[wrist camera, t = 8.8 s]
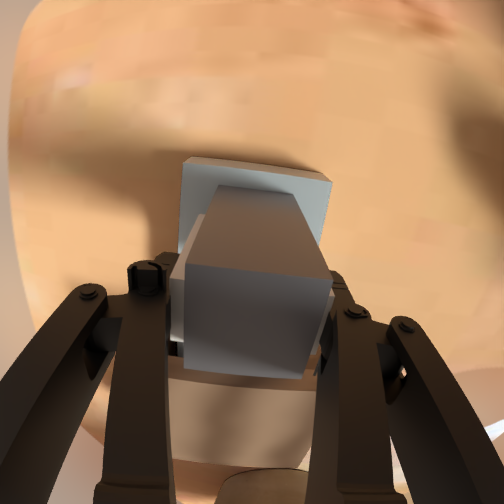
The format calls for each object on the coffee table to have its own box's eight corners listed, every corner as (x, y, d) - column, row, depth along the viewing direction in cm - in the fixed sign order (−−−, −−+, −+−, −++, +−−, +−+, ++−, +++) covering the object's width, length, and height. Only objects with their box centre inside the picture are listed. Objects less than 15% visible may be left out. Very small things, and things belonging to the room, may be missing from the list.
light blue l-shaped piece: (322, 173, 18) (406, 255, 8) (266, 406, 28) (270, 512, 17) (191, 156, 18) (113, 219, 8) (184, 397, 27) (165, 503, 17)
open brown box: (325, 334, 24) (340, 391, 18) (292, 419, 29) (297, 467, 23) (146, 314, 23) (123, 369, 17) (156, 405, 28) (144, 453, 22)
